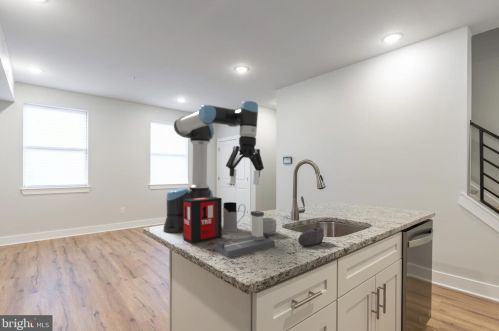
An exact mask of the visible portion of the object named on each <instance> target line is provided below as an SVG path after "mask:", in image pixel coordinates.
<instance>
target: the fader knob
mask: <svg viewBox="0 0 499 331" xmlns="http://www.w3.org/2000/svg"><path fill="white" fill-rule="evenodd" d="M250 216H251V234H250V236H251V239H254V240H256V241H259V240H264V235H263V218H264V216H265V213H264V212H263V211H260V210H253V211H250Z"/></svg>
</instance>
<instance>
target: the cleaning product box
mask: <svg viewBox="0 0 499 331" xmlns="http://www.w3.org/2000/svg"><path fill="white" fill-rule="evenodd" d="M222 199H223V198H222V197H218V196H217V197H215V196H213V197H203V198H192V199H183V232H182V233H183V234H182V235H183V238H182V240H183V241H184V242H186V243H189V244H191V245H196V244H200V243H205V242H208V241H213V240H217V239H222V238H223V235H222V234H223V233H222V232H223V223H222V222H223V208H222V207H223V206H222V204H223V203H222V202H223V200H222Z"/></svg>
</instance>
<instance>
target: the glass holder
mask: <svg viewBox="0 0 499 331" xmlns="http://www.w3.org/2000/svg"><path fill="white" fill-rule="evenodd" d="M222 204H223V206H222V207H223V208H222V222H223V223H222V231H224V232H235V231H238V223H239V222H240V221H241V220H242V219H243V218H244V216H245V213H246V205H245V204H242V203H241V204H238V207H237V202H235V201H234V202H232V201H229V202H228V201H227V202H223V203H222ZM241 206H243V207H244V211H243V215H242V216H241V218H239V220H238V213H239V212H240V207H241ZM237 208H238V211H237Z"/></svg>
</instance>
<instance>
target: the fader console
mask: <svg viewBox="0 0 499 331" xmlns="http://www.w3.org/2000/svg"><path fill="white" fill-rule="evenodd" d="M263 235H264V240H259V241H256V240H254V239H251V235H250V236H246V237H242V238H237V239H229V240H226V241H220V240H219V241H217V243H214V244H213V250H214V251H215V252H216V253H219V254H221V255H222V256H224V257H226V258H233V257H237V256H241V255H244V254H248V253H253V252H257V251H261V250H266V249H269V248H272V247H275V245H276V244H275V240H273V239H270V235H269V234H267V233H264V232H263Z"/></svg>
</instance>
